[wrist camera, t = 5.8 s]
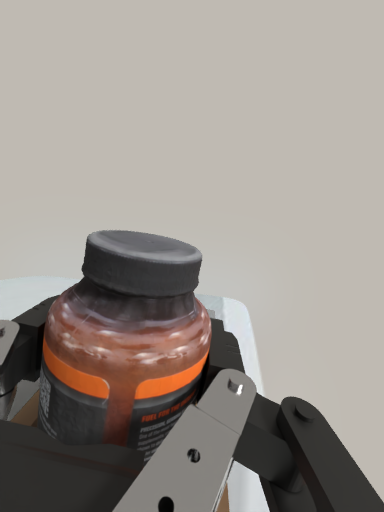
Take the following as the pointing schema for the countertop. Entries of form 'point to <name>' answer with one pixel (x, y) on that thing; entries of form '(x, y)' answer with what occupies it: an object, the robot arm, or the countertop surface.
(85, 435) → the supplement bottle
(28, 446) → the robot arm
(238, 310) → the countertop surface
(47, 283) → the countertop surface
